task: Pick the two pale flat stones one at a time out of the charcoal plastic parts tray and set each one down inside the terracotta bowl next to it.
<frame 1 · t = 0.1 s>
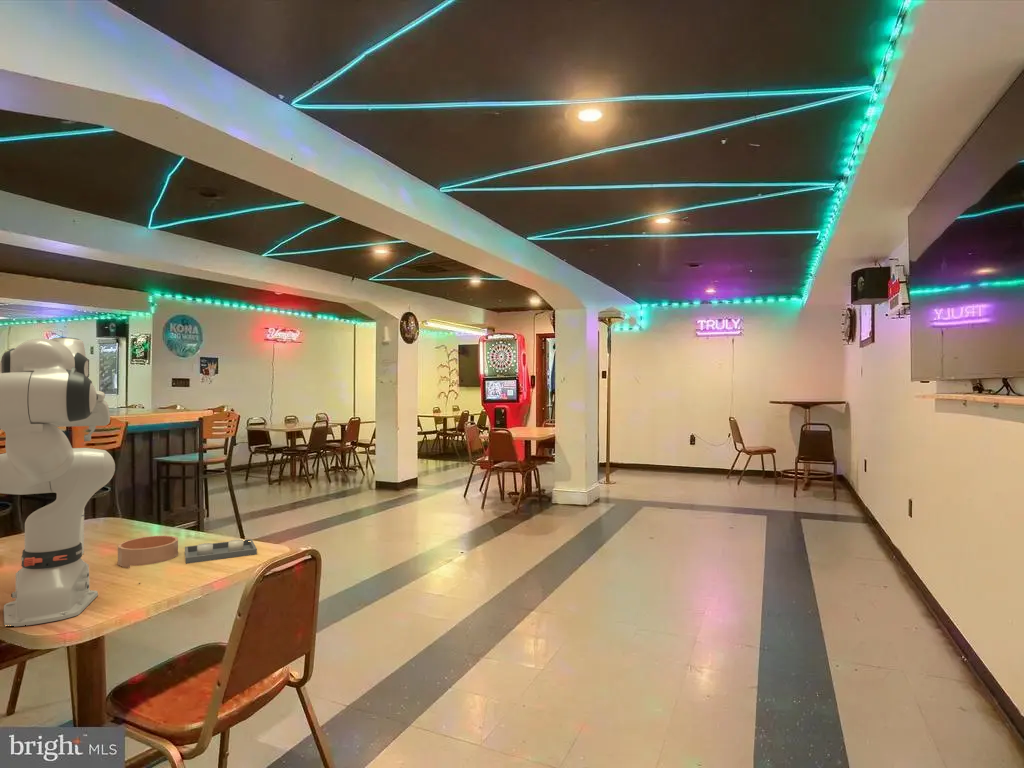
hand: (67, 441, 167), 39 cm above the table, tool pointing down, fingers open, 8 cm apart
cylindrical container: (70, 555, 188), on the table
sandstone pebble: (235, 551, 191), point 1 cm above the table, touching parts tray
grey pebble: (205, 555, 186), point 1 cm above the table, touching parts tray
parts tray: (220, 555, 188), on the table
terracotta bowl: (148, 559, 183), on the table
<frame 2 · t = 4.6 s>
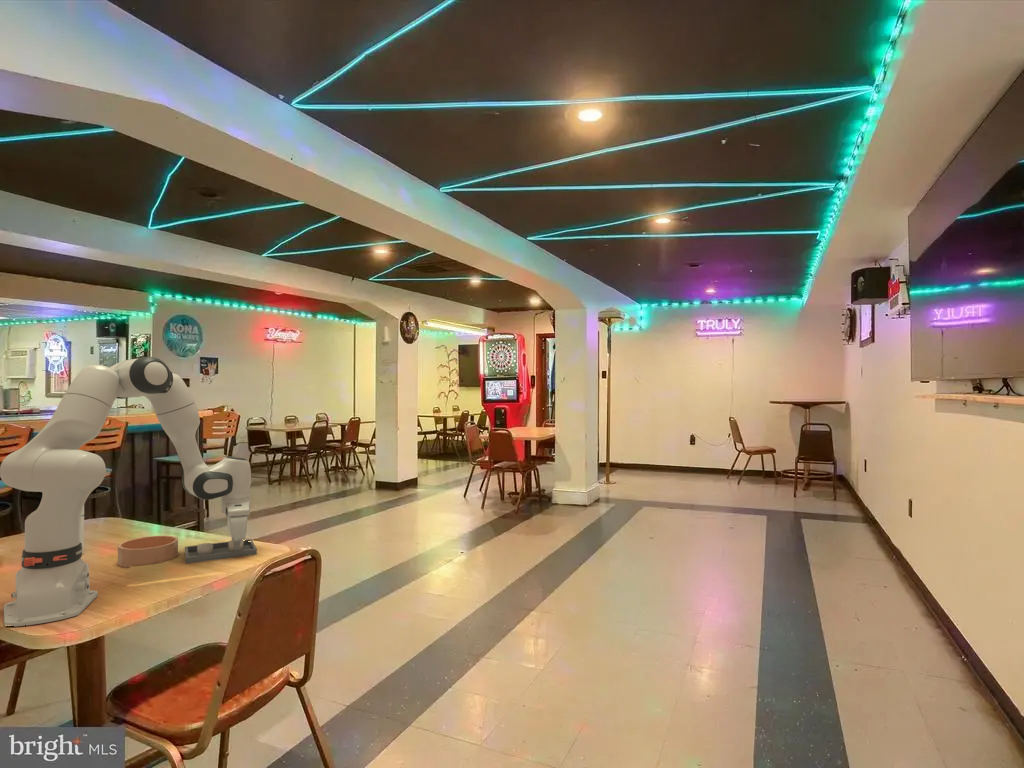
hand: (235, 547, 191), 2 cm above the table, tool pointing down, fingers closed on sandstone pebble, 4 cm apart
sandstone pebble: (235, 551, 191), point 1 cm above the table, touching gripper, parts tray
everything else where it was.
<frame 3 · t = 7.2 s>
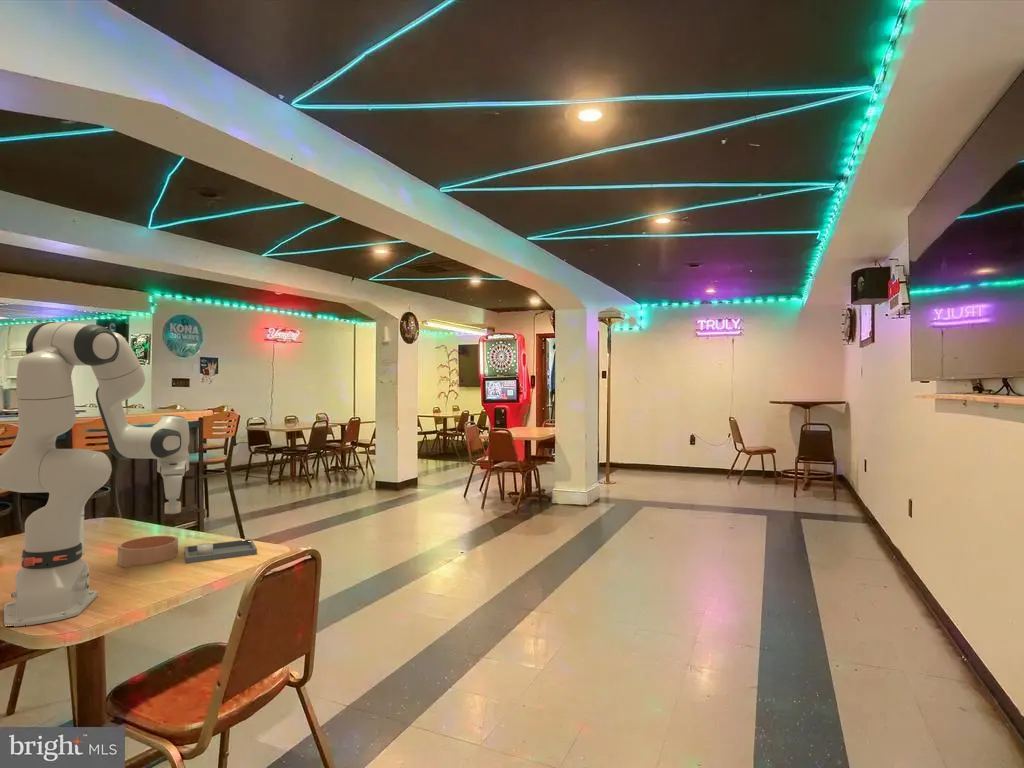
hand: (172, 509, 186), 16 cm above the table, tool pointing down, fingers closed on sandstone pebble, 4 cm apart
sandstone pebble: (172, 512, 186), point 15 cm above the table, touching gripper
everything else where it was.
when the fingers open (5 cm above the table, at t = 10.1 s): sandstone pebble drops 3 cm, resting on terracotta bowl.
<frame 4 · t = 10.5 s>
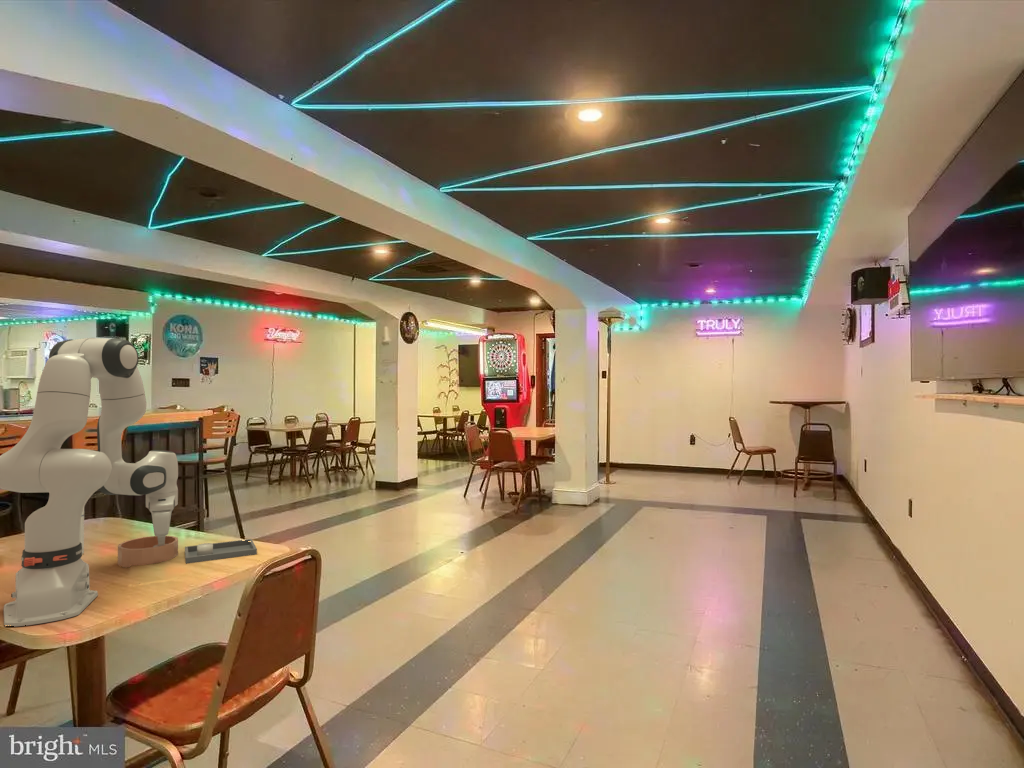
hand: (161, 543, 185), 5 cm above the table, tool pointing down, fingers open, 8 cm apart
sandstone pebble: (161, 555, 185), point 1 cm above the table, touching terracotta bowl
everything else where it was.
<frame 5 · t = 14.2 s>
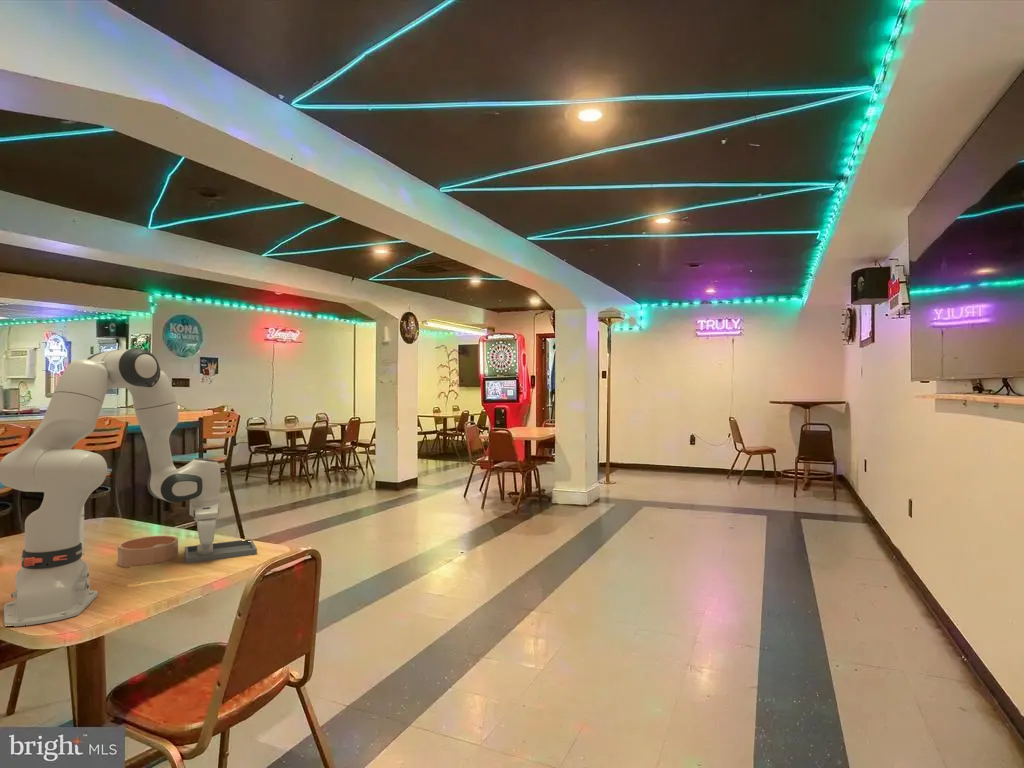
hand: (204, 551, 186), 2 cm above the table, tool pointing down, fingers closed on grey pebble, 4 cm apart
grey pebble: (205, 555, 186), point 1 cm above the table, touching gripper, parts tray
everything else where it was.
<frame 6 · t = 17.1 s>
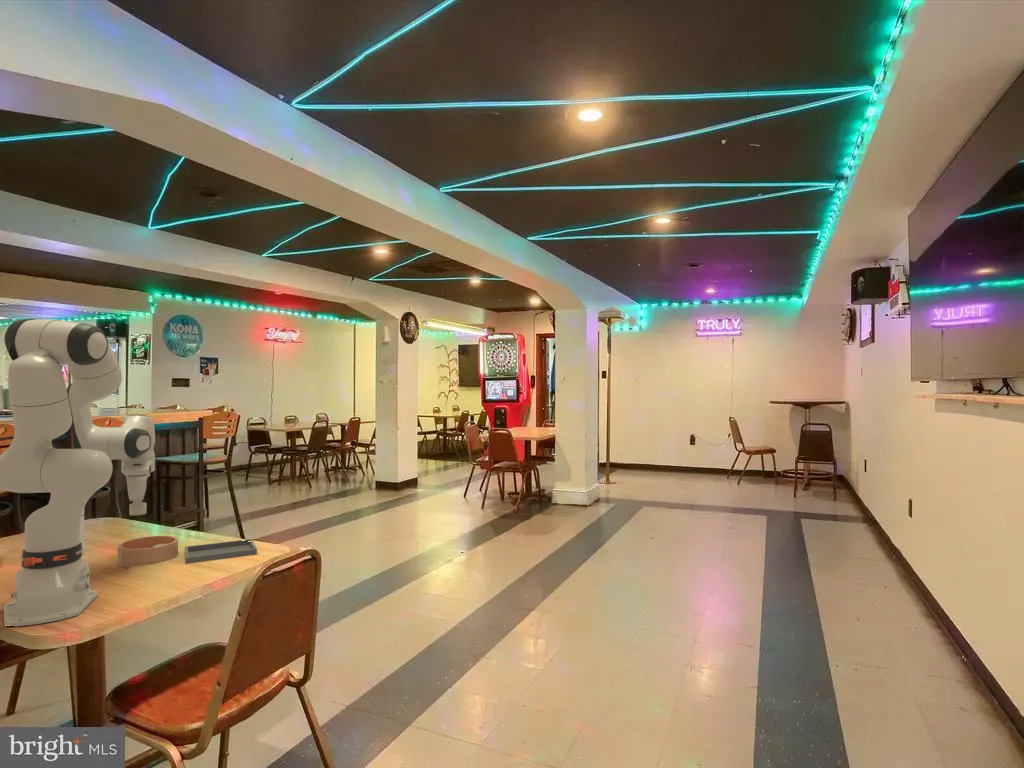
hand: (137, 510, 182), 16 cm above the table, tool pointing down, fingers closed on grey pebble, 4 cm apart
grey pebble: (137, 513, 182), point 15 cm above the table, touching gripper
everything else where it was.
when the fingers open (5 cm above the table, at t = 19.8 s): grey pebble drops 3 cm, resting on terracotta bowl.
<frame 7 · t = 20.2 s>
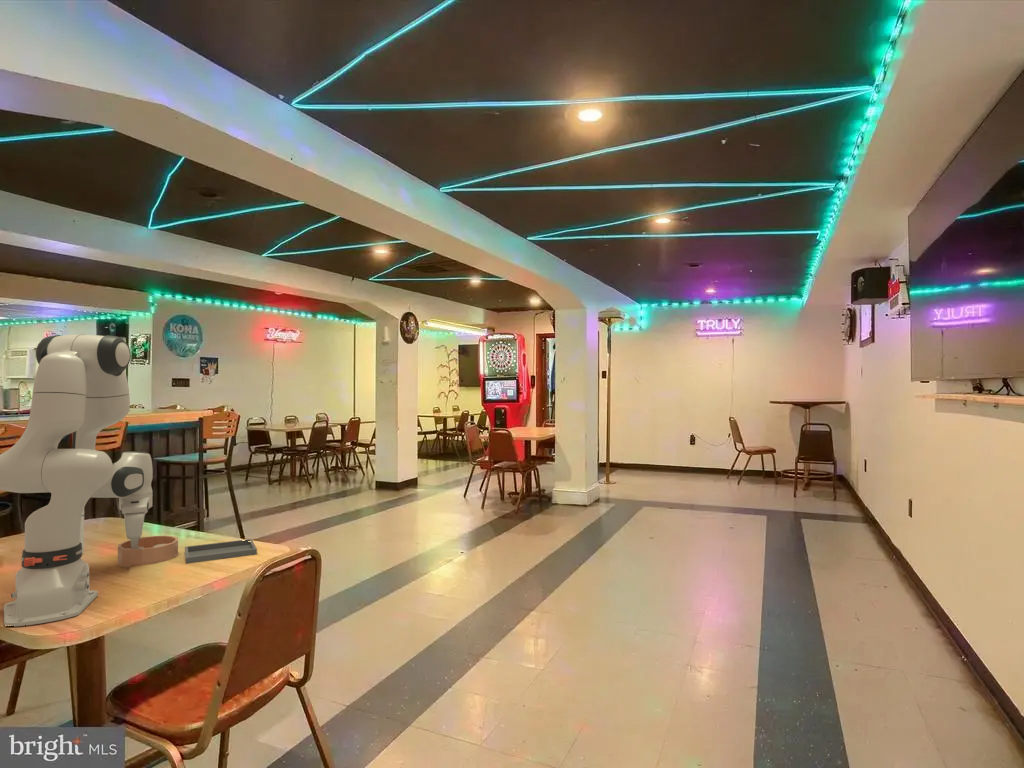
hand: (135, 546, 182), 5 cm above the table, tool pointing down, fingers open, 8 cm apart
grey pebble: (135, 558, 182), point 1 cm above the table, touching terracotta bowl
everything else where it was.
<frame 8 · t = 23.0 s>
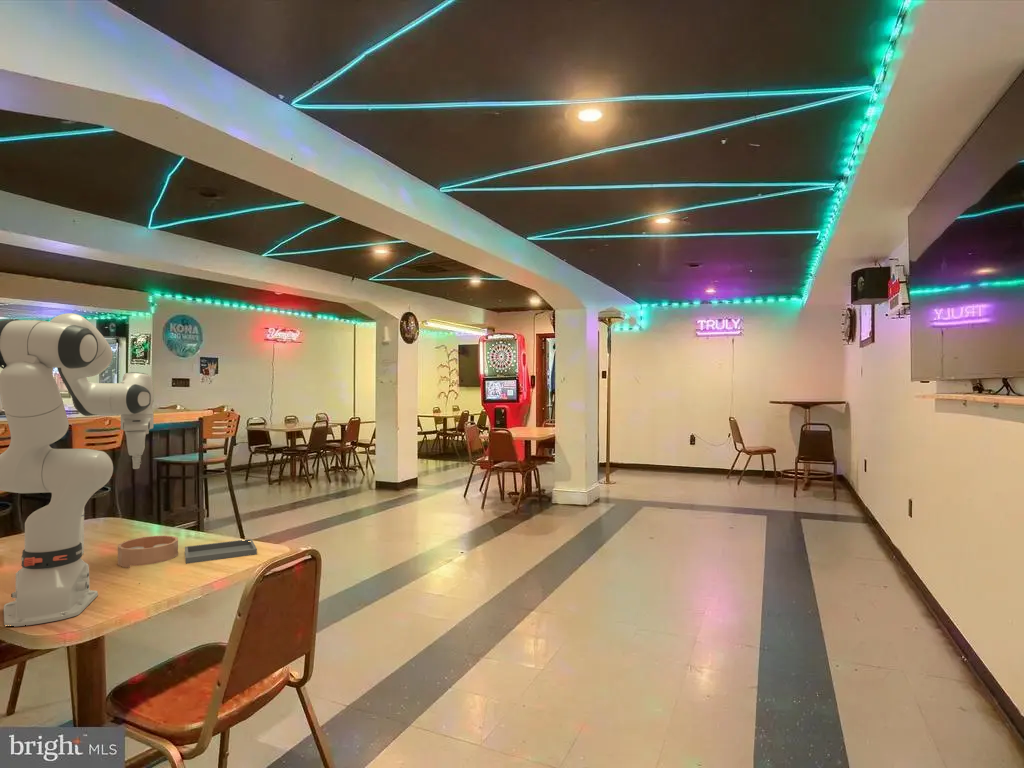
hand: (136, 466, 185), 29 cm above the table, tool pointing down, fingers open, 8 cm apart
nothing on the table moved.
at the end: sandstone pebble inside the target area on the terracotta bowl (3.5 cm from its centre), point 0.8 cm above the terracotta bowl's base; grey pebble inside the target area on the terracotta bowl (3.5 cm from its centre), point 0.8 cm above the terracotta bowl's base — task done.
